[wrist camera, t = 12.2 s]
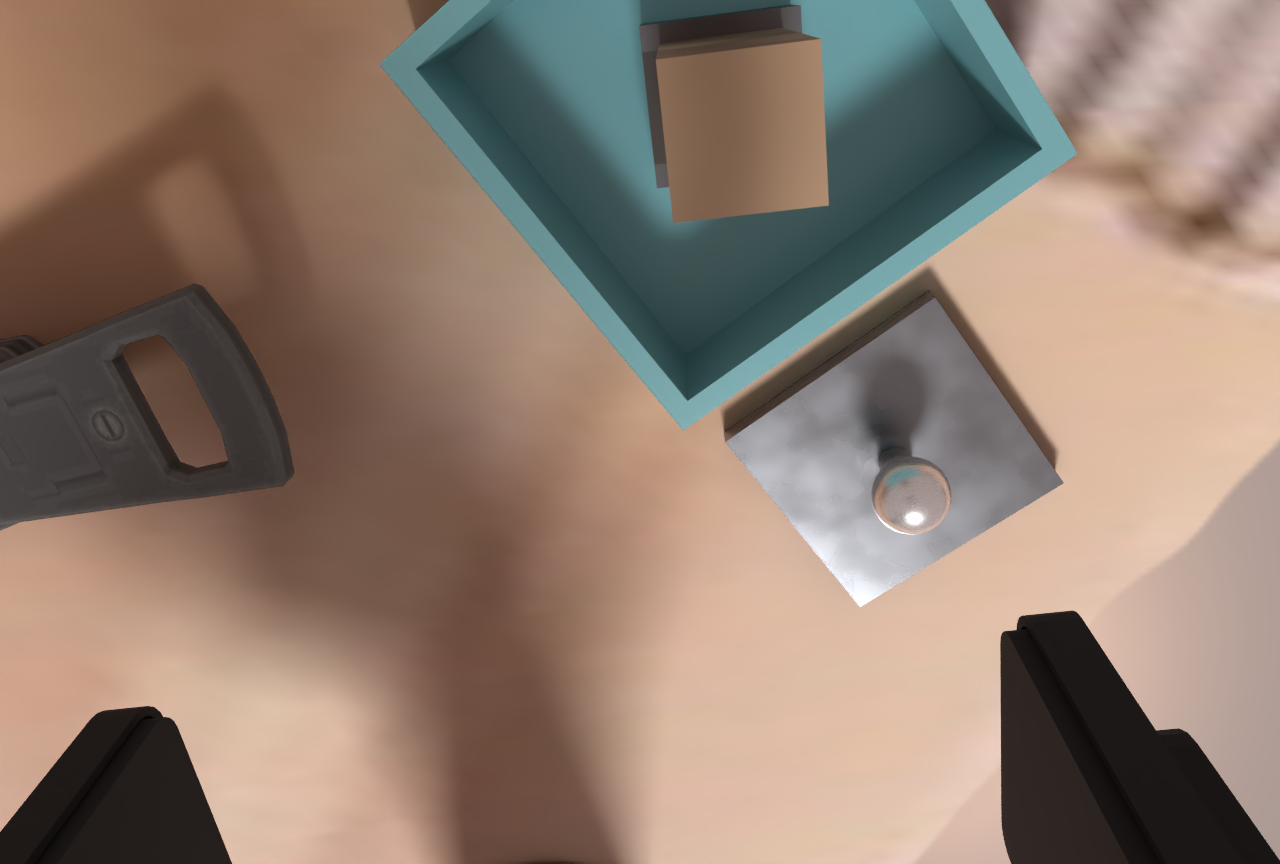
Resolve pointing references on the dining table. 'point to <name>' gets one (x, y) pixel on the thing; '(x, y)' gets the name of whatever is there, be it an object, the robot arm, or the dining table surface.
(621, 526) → the dining table surface
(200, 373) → the zipper pull
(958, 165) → the bin
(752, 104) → the strut
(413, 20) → the dining table surface
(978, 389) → the base
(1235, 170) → the dining table surface
